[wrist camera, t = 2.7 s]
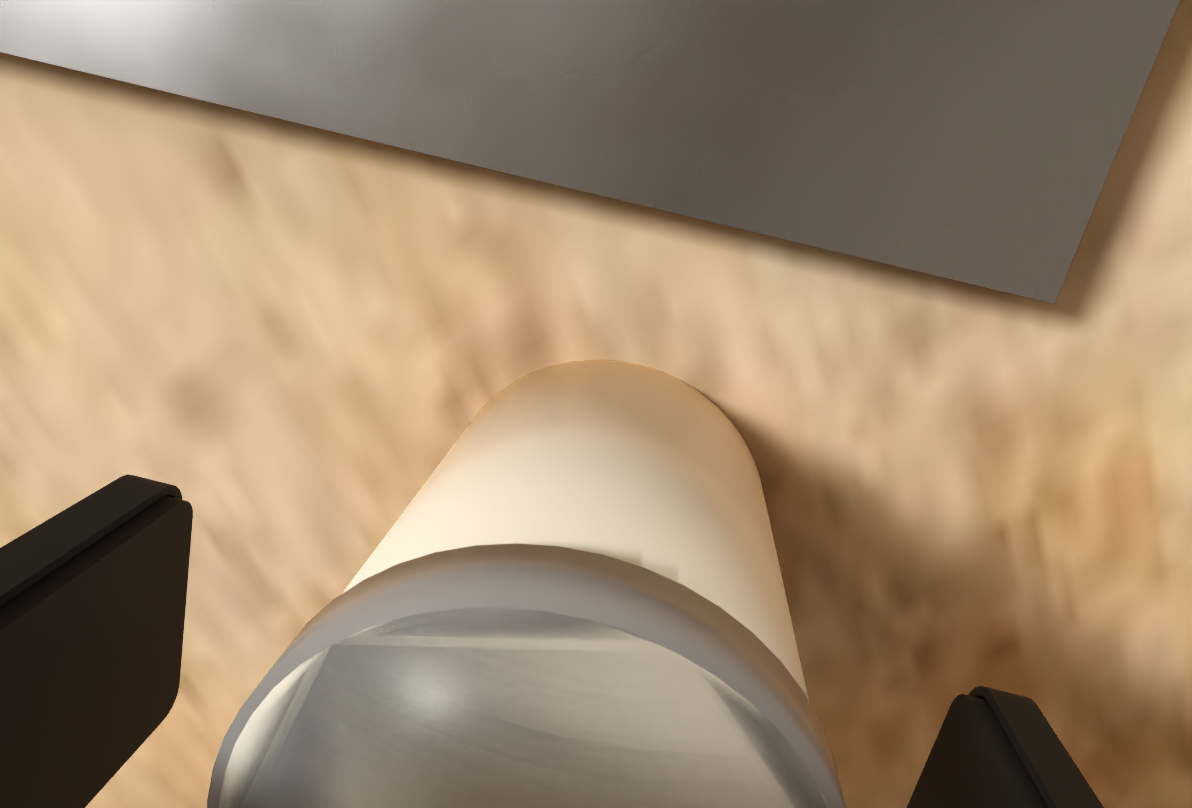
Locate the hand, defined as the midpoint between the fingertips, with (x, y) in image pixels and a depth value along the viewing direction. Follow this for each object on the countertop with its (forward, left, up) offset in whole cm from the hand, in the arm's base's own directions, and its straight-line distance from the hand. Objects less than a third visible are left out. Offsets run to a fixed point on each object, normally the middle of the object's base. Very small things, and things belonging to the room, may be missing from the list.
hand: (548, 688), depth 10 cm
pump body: (0, +1, -4) cm, 4 cm away
